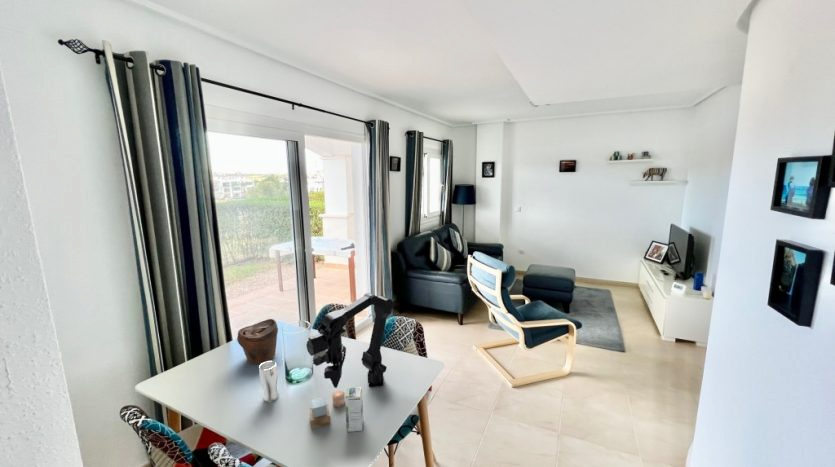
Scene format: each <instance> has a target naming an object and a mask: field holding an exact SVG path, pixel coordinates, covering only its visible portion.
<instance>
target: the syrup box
mask: <svg viewBox="0 0 835 467" xmlns="http://www.w3.org/2000/svg"><path fill="white" fill-rule="evenodd" d="M344 397H345V404H344V405H345V423H346V432H347V433H349V432H352V433H353V432H360V431H361V432H362V431H363V427H364V426H363V425H364V405H363V400H364V399H363V387H361V386H359V387H358V386H357V387H356V386H353V387H347V388H346V392H345V396H344Z"/></svg>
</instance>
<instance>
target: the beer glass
mask: <svg viewBox="0 0 835 467" xmlns="http://www.w3.org/2000/svg"><path fill="white" fill-rule="evenodd" d="M258 371H259V372H258V375H259V382H260V384H261V387H262V391H263V401H265V403H266V402H267V403H271V402H273V401H275V400H278V398H279V396H280V393H279V390H278V382H279V380H278V379H279V373H278V366H277V363H276V361H274V360H268V361H266V362H263V363H260V365H259V366H258Z"/></svg>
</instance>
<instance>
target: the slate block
mask: <svg viewBox="0 0 835 467" xmlns="http://www.w3.org/2000/svg"><path fill="white" fill-rule="evenodd" d="M326 404H327V402H326V396H323V397H319V398H314V399H311V408H312V411H313V418H315V417H319V416H323V415H327V409H326Z"/></svg>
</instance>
